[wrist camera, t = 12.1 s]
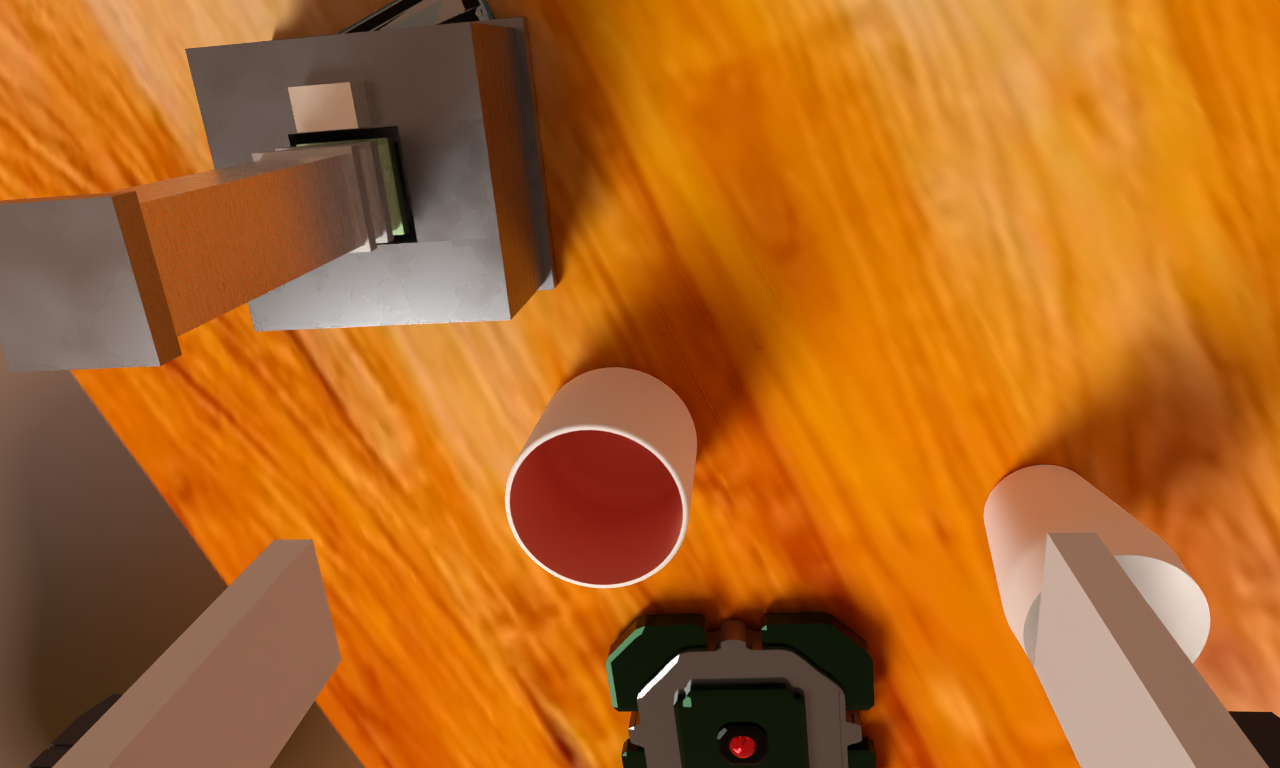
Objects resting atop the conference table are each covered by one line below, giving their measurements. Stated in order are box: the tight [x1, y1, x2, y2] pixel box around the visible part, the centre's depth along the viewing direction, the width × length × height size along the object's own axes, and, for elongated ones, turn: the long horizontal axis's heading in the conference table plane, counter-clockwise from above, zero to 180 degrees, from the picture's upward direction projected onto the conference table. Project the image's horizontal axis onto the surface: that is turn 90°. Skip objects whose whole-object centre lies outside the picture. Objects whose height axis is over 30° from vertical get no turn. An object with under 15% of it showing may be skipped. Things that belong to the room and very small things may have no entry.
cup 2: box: [984, 465, 1210, 667], centre depth 48 cm, size 9×9×12 cm
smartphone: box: [338, 0, 495, 34], centre depth 49 cm, size 7×1×15 cm
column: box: [0, 137, 412, 372], centre depth 34 cm, size 5×5×21 cm
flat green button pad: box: [606, 612, 876, 768], centre depth 60 cm, size 18×18×5 cm
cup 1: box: [505, 367, 697, 588], centre depth 50 cm, size 10×10×10 cm
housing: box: [185, 17, 558, 331], centre depth 45 cm, size 15×15×10 cm
